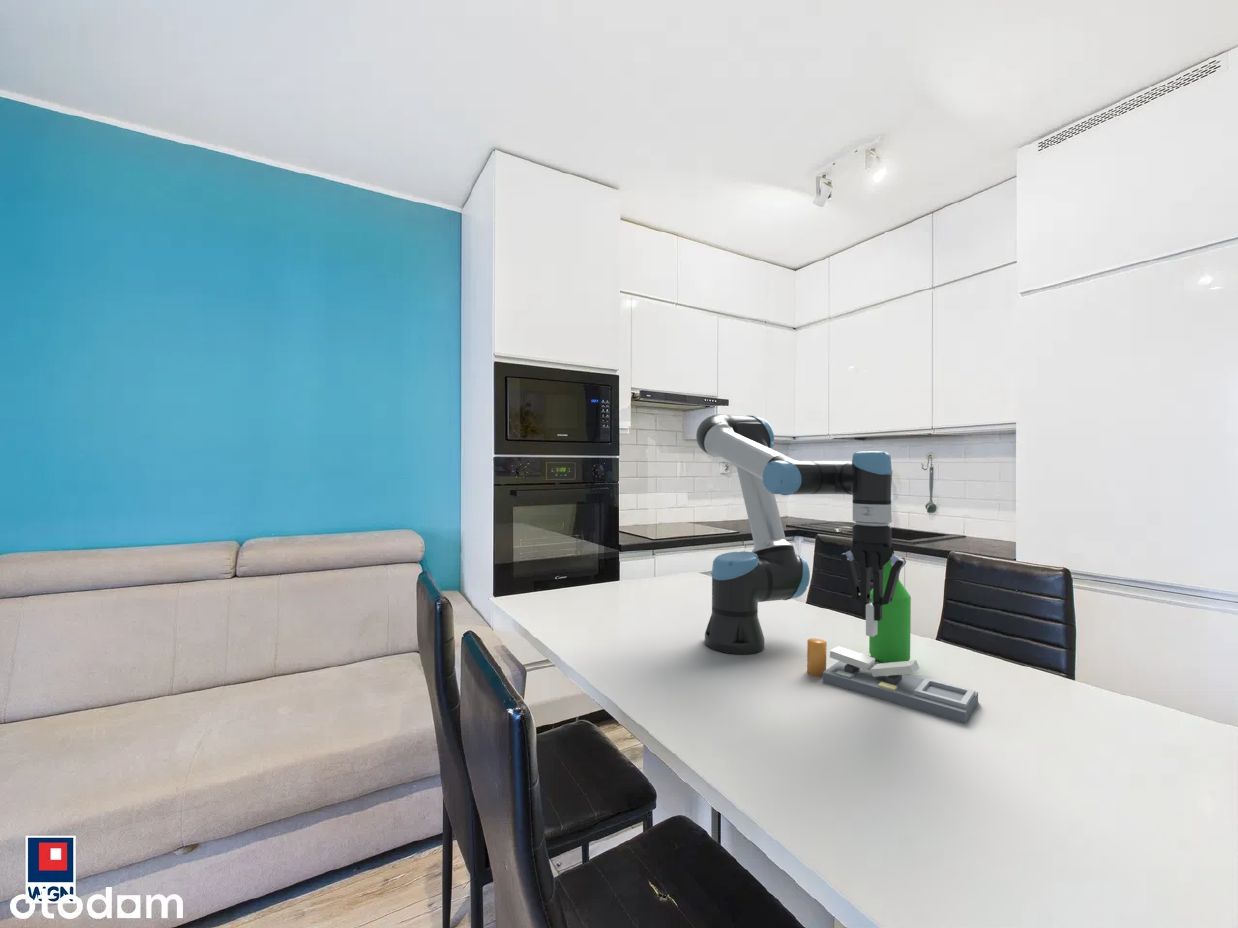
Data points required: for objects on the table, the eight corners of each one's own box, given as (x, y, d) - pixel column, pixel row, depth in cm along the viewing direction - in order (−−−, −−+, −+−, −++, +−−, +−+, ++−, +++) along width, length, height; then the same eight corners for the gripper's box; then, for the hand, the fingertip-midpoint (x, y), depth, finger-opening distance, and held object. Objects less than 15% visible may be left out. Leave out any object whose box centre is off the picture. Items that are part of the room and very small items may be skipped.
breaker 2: (872, 676, 109) (870, 669, 109) (879, 670, 112) (877, 663, 112) (913, 673, 104) (910, 665, 104) (919, 667, 107) (916, 660, 107)
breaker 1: (829, 657, 115) (830, 650, 115) (837, 652, 118) (838, 645, 118) (867, 670, 109) (868, 663, 109) (874, 665, 113) (875, 658, 113)
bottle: (906, 668, 120) (907, 560, 120) (865, 659, 125) (866, 555, 125) (912, 657, 127) (913, 555, 127) (873, 649, 132) (874, 551, 132)
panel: (822, 681, 112) (822, 666, 112) (843, 666, 121) (843, 652, 121) (965, 723, 94) (965, 705, 94) (978, 702, 103) (978, 686, 103)
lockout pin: (804, 672, 117) (804, 641, 117) (811, 667, 120) (811, 637, 120) (821, 677, 114) (822, 645, 114) (829, 672, 117) (829, 641, 117)
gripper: (834, 522, 113) (833, 631, 113) (899, 527, 104) (899, 646, 104) (847, 520, 119) (847, 624, 118) (910, 524, 109) (910, 637, 109)
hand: (871, 634), depth 111 cm, fingers closed
